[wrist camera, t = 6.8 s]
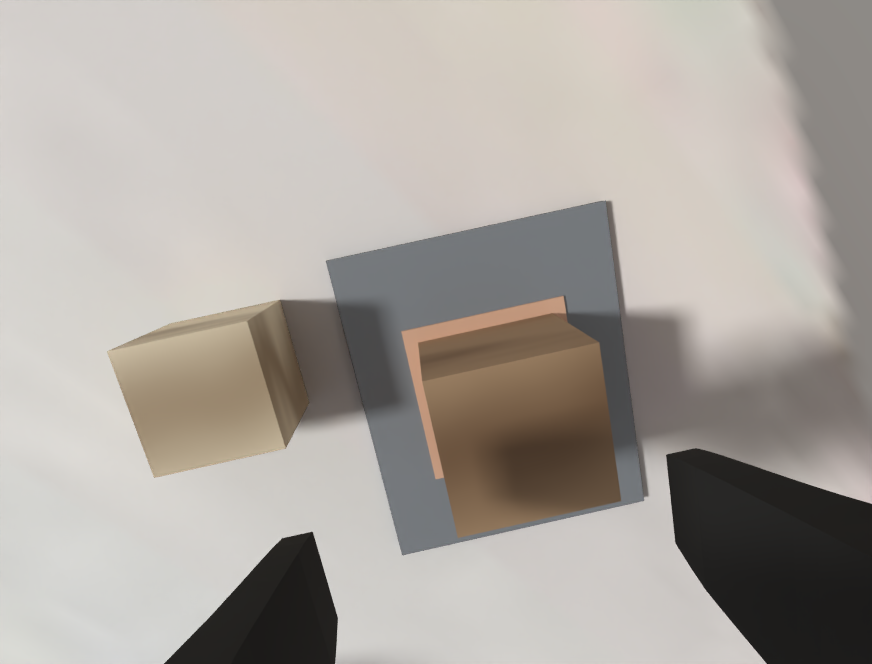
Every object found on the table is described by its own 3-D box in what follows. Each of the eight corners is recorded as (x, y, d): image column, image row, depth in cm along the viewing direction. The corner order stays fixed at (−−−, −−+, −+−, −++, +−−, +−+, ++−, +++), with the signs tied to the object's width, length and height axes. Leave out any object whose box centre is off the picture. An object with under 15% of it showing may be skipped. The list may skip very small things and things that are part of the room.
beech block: (309, 401, 19) (285, 448, 15) (205, 424, 19) (154, 477, 15) (280, 299, 18) (246, 321, 14) (171, 323, 18) (106, 351, 14)
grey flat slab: (640, 496, 21) (645, 502, 20) (402, 550, 20) (402, 556, 20) (602, 200, 18) (606, 200, 17) (327, 260, 18) (325, 261, 17)
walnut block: (572, 437, 19) (621, 500, 15) (445, 465, 19) (457, 537, 15) (552, 313, 18) (599, 342, 14) (417, 342, 18) (422, 381, 14)
